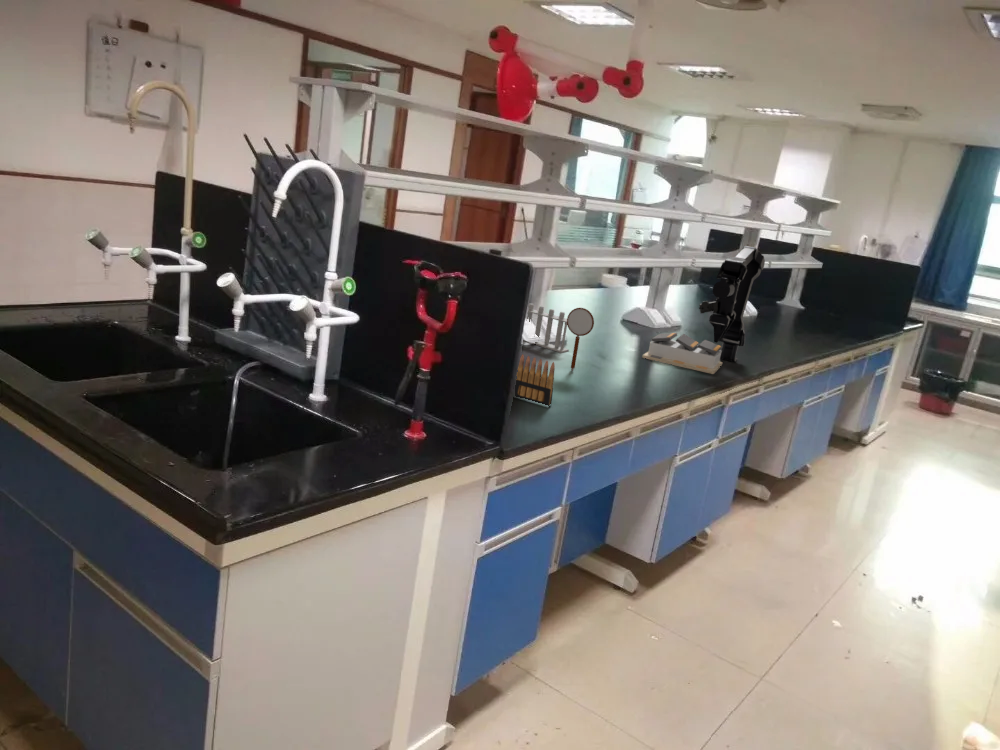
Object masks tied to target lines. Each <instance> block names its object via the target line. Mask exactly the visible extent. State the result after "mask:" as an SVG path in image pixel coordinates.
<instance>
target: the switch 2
mask: <svg viewBox="0 0 1000 750" xmlns="http://www.w3.org/2000/svg"><path fill="white" fill-rule="evenodd" d="M698 348H700V349H703V350H705V351H708V352H710V353H713V354H716V353H717V352H718V351H719V350H721V348H722V345H720V344H718V343H716V342H712V341H709V340H707V339H704V340H702V341H701V342H700V343H699V344H698Z"/></svg>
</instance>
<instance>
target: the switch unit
mask: <svg viewBox="0 0 1000 750" xmlns="http://www.w3.org/2000/svg"><path fill="white" fill-rule="evenodd" d="M721 352H722V351H721V349H720V350H719V351H718V352H717V353H716V354H713V353H710V352H708V351H705V350H703V349H700V348H698V346H697V347H695V348H694V349H693V350H692V351H691V350H689V349H688V348H686V347H684V346H683V345H681V344H680V343H678V342H676V340H674V339H672V340H670V341H652V340H651V341H649V347H648V351H646V352H645V353H643V354H642V357H641V358H642V359H645V358H646V359H647V360H650V361H654V360H655V361H656V362H658V361H659V363H664V364H668V365H671V364H672V366H676V367H680V368H685V369H688V370H689V369H690V370H694V371H698V372H703V373H707V374H709V375H710V374H711V375H714V374H715V373H716V372H717V371H718V370H719V369H720V368H721V367H722V365H723V362H722V361H721V359H720V356H721ZM655 361H654V362H655ZM720 366H721V367H720Z"/></svg>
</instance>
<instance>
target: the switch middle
mask: <svg viewBox="0 0 1000 750" xmlns="http://www.w3.org/2000/svg"><path fill="white" fill-rule="evenodd" d="M675 341H676V342H678V343H680V344H681V345H683V346H684V347H686V348H688V349H689V350H691V351H692V350H693V349H694V348H695V347H697V346H698V345H699V344H700V343H699V342H698V341H697V340H695V339H693V338H692V337H691V336H688V335H686V333H683V334H681V335H680V336H679V337H677V338H676V340H675Z"/></svg>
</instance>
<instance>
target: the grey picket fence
mask: <svg viewBox="0 0 1000 750" xmlns="http://www.w3.org/2000/svg"><path fill="white" fill-rule="evenodd" d="M534 305H535V304H534V303H528V307H529V310H528V312H527V314H528V317H529V322H530V319H531V322H532V320H533V319H532V318H533V314H534V315H536V317H537V318H536V324H535V331H534V335H535V334H536V335H537V336H538V337H539V336H541V329H542V324H543V323H542V322H543V317H545V318H547V323H546V328H545V337H544V340H543V341H542V342H535V344H536V345H535V346H538V347H541V348H545V349H548V350H551V351H554V352H557V353H560V354H563V353H568V352H570V351H569V350H570V349H567V348H565V347H564V346H565V340H566V333H567V328H568V325H567V318H566V317H565V315H566V313H565V312H564V311H560V312H559V315H558V316H557V315H555V314H554V313H555V309H553V308H550V309H549V310H548V313H547V312H545V311H544V309H545V307H544V306H542V305H541V306H540V305H539V306H538V310H536V309H534V307H535V306H534ZM528 317H527V316H526V320H527V319H528ZM554 320H556V321H557V328H556V334H555V341H554V344H552V343H550V342H551V341H550V340H551V335H552V329H553V328H552V326H553V321H554ZM563 327H564V328H563ZM562 333H563V334H562ZM539 338H540V337H539ZM561 338H562V339H561Z"/></svg>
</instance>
